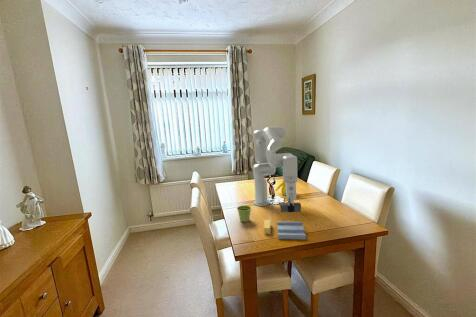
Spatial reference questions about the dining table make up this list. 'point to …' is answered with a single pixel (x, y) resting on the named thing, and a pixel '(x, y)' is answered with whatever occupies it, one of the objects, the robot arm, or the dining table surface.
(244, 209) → the plant pot
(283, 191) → the figure statuette
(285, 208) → the dark gray block
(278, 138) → the robot arm
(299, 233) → the slot rack
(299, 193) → the dining table surface
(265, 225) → the butter stick
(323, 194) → the dining table surface
